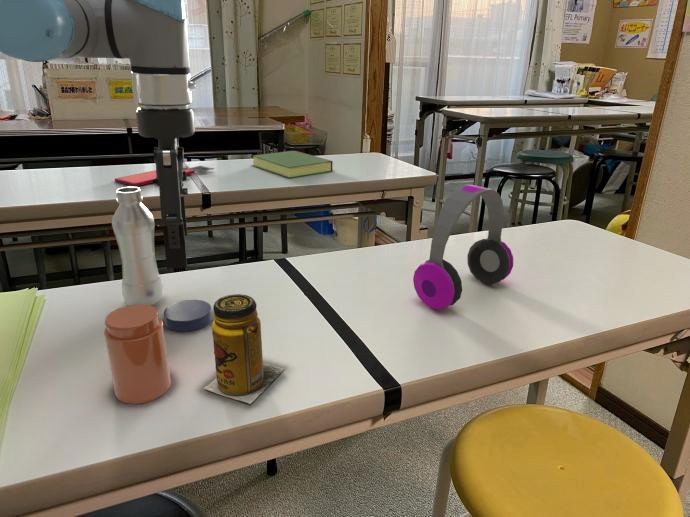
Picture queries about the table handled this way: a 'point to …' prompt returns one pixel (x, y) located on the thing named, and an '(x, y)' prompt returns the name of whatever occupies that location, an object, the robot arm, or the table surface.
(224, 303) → the condiment
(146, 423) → the table surface
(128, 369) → the jar
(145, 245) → the plastic bottle
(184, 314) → the lid
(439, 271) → the headphones
